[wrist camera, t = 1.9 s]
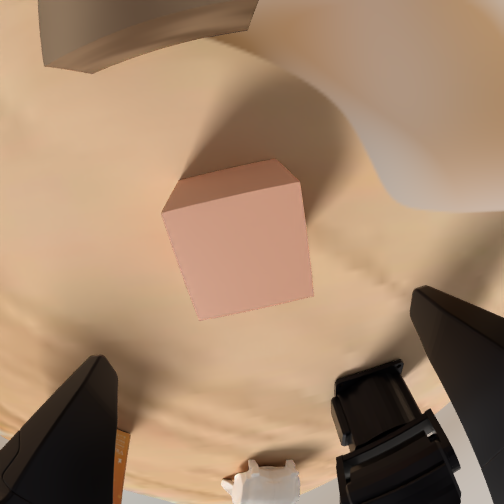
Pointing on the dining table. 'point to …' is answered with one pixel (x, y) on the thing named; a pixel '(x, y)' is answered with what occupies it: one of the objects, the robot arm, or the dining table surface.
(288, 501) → the white animal figurine
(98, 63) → the walnut block
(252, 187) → the terracotta cube
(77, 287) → the dining table surface
